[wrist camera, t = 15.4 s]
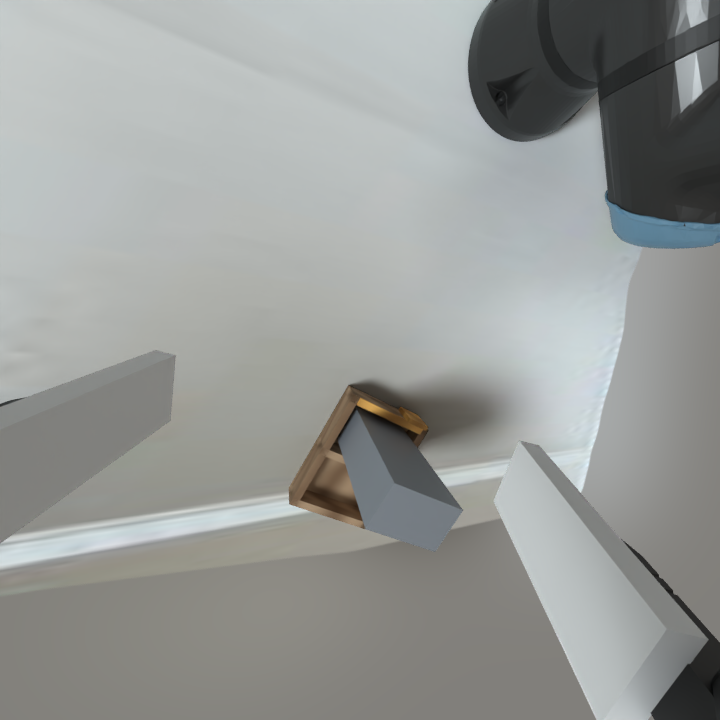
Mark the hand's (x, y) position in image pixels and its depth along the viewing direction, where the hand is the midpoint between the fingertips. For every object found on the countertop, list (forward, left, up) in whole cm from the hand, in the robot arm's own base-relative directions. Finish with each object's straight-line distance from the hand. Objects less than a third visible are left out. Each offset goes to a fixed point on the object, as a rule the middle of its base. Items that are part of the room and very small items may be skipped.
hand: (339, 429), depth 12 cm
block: (-9, +16, -29) cm, 34 cm away
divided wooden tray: (-7, +20, -30) cm, 36 cm away
